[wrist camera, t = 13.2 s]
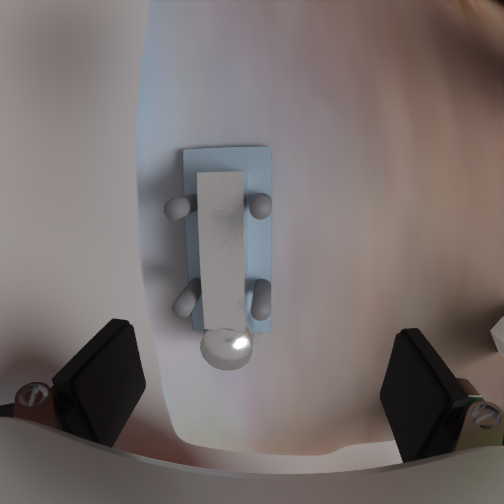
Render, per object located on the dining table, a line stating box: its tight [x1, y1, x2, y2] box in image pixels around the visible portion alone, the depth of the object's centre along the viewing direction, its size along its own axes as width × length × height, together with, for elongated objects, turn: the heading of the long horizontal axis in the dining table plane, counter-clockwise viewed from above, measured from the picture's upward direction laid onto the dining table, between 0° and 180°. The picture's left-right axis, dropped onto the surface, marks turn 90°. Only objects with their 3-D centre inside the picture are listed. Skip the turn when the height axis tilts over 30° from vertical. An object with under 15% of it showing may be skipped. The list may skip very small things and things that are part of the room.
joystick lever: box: [197, 171, 255, 370], centre depth 26 cm, size 17×5×4 cm, turn 0°
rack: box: [164, 147, 272, 332], centre depth 25 cm, size 18×8×7 cm, turn 1°
